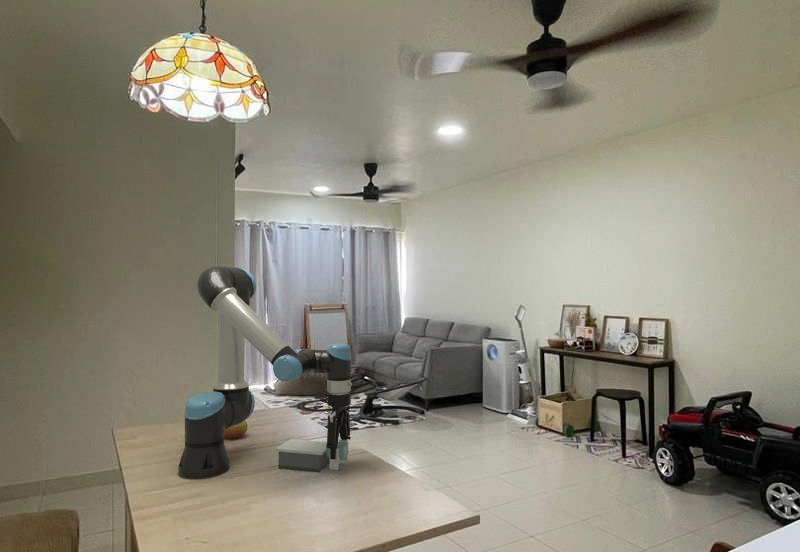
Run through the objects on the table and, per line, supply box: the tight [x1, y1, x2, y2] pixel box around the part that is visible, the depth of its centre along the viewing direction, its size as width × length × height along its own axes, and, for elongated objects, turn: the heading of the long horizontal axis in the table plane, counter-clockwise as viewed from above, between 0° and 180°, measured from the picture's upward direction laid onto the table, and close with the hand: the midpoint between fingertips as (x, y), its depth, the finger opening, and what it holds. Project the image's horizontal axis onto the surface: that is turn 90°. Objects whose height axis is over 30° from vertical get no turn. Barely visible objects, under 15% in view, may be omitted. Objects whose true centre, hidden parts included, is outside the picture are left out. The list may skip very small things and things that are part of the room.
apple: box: [224, 419, 248, 440], centre depth 192 cm, size 10×10×8 cm
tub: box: [278, 451, 330, 473], centre depth 161 cm, size 14×10×6 cm
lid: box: [274, 438, 349, 458], centre depth 161 cm, size 22×11×4 cm, turn 76°
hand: (338, 464), depth 159 cm, fingers open, 8 cm apart
